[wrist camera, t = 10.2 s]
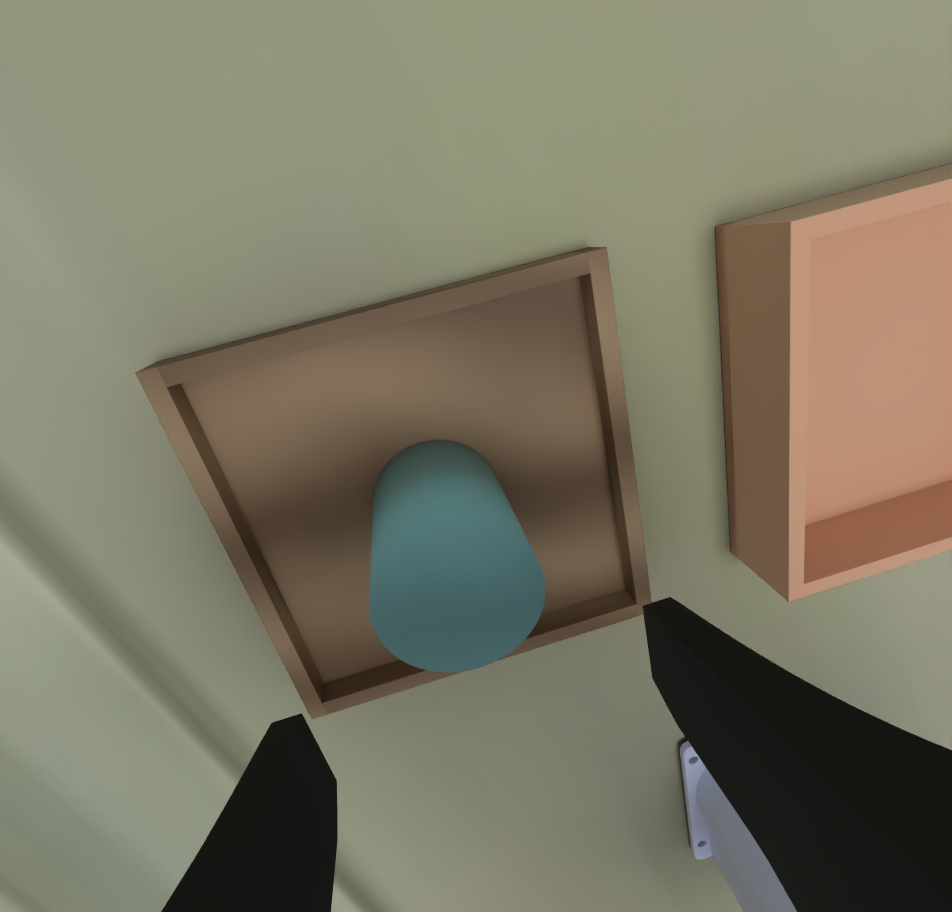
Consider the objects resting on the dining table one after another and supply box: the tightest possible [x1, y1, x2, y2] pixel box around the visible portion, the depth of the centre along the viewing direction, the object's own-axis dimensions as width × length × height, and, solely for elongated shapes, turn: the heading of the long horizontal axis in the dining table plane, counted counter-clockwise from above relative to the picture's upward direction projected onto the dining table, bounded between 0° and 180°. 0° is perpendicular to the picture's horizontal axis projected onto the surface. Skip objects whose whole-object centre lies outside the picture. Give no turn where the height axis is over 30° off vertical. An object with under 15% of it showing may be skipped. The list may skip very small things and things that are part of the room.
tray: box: [136, 247, 652, 719], centre depth 19 cm, size 14×14×2 cm
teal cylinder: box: [369, 440, 545, 672], centre depth 16 cm, size 4×4×6 cm
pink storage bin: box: [715, 163, 952, 602], centre depth 19 cm, size 13×13×4 cm
